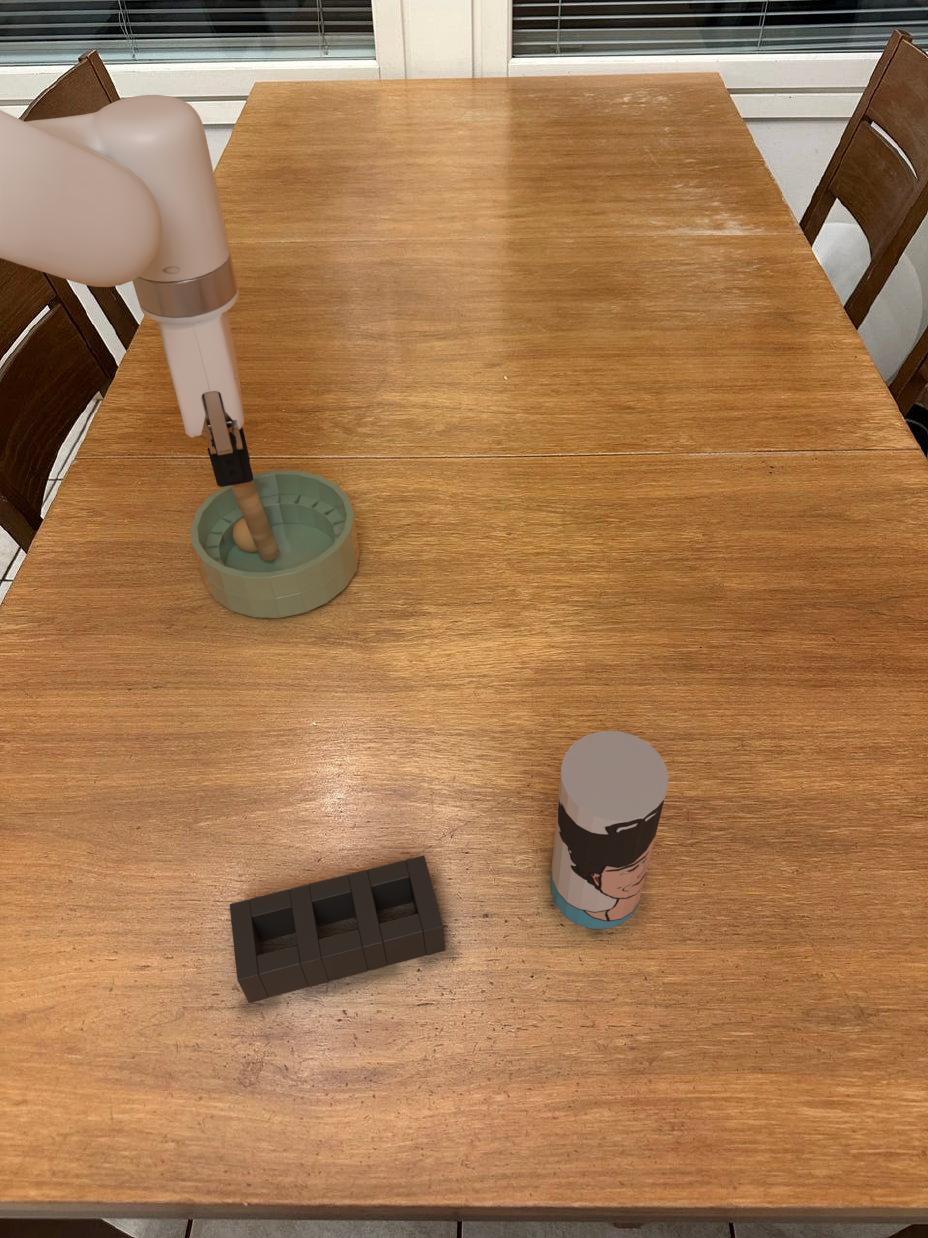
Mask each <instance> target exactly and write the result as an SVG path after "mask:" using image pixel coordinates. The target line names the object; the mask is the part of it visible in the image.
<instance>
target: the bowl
mask: <svg viewBox="0 0 928 1238" xmlns="http://www.w3.org/2000/svg"><path fill="white" fill-rule="evenodd" d="M252 474H253V483H254V485H255V488H256V490H257V493H258V496H259V498H260V501H261V503H262V506H263V509H264V511H265V514H266V517H267V519H268V522H269V524H270V527H271V530H272V532H273V535H274V537H275V540H276V543H277V545H278V548H279V555H278V556H277V557H276V558H275V559H273V560H269V561H265V560H262V559H261V558H260V556H259V553H258V551H257V552H246V551H243V550H241V549H240V548H239V547H238V546H237V545H236V544H235V542H234V540H233V528H234V526H235V524H236V523H237V522H238V521H239V520H240V519H242V518H244V517H243V514H242V512H241V509H240V507H239V504H238V502H237V499H236V497H235V494H234V492H233V490H232V487H231V485H230V486H225V487H220V488H219V489H217V490H215V491H214V492H213V493H211V494H209V496H207V498H206V499H205V500H204V501H203V502H202V503H201V505H200V506H199V507H198V508H197V509H196V511H195V514H194V517H193V520H192V522H191V524H190V527H189V531H190V539H191V540H190V541H191V542H190V543H191V547H192V550H193V552H194V556H195V559H196V562H197V565H198V568H199V572H200V575H201V577H202V581H203V584H204V586H205V587H206V589H207V591H208V592H209V594H210V595H211V597H212V599H213V600H214V601H216V602H217V603H219V604H220V605H222V606H223V607H224V608H226V609H228V610H229V611H231V612H234V613H237V614H241V615H244V616H248V617H251V618H261V619H262V618H263V619H264V618H265V619H267V618H268V619H281V618H285V617H286V618H287V617H292V616H296V615H300V614H306V613H308V612H310V611H312V610H315V609H317V608H319V607H321V606H324V605H326V604H327V603H329V602H330V601H331V600H333V599H334V598H335V597H336V596H338V595H339V594H340V593H342V592H343V591H344V590H345V589H346V588H347V586H348V585H349V583H350V582H351V580H353V578H354V576H355V574H356V573H357V571H358V565H359V561H360V556H361V553H360V546H359V539H358V531H357V524H356V518H355V512H354V508H353V505H352V502H351V499H350V496H348V495H347V493H346V492H345V491H344V490H343V489H342V487H340V485H339V484H337V483H336V482H334V481H332V480H330V479H328V478H327V477H325V476H322V475H320V474H317V473H312V472H308V471H304V470H299V469H272V470H266V471H261V472H256V473H252Z"/></svg>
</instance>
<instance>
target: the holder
mask: <svg viewBox="0 0 928 1238" xmlns="http://www.w3.org/2000/svg"><path fill="white" fill-rule="evenodd" d="M426 859H427V858H426V855H425V854H422V855H419V856H415V857H412V858H408V859H403V860H400V861H396V862H392V863H388V864H385V865H380V866H376V867H372V868H368V869H364V870H360V871H356V872H351V873H348V874H344V875H340V876H336V877H332V878H328V879H327V878H326V879H324V880H319V881H315V882H312V883H311V882H310V883H307V884H304V885H299V886H296V887H292V888H291V887H290V888H287V889H284V890H279V891H276V892H272V893H267V894H264V895H259V896H256V897H252V898H248V899H244V900H240V901H237V902H232V903H230V904H229V915H230V923H231V931H232V932H231V934H232V941H233V943H232V944H233V952H234V962H235V971H236V979H237V983H238V984H239V987H240V989H241V991H242V993H243V995H244V996H245V998H246V1000H247V1003H248V1004H252V1003H255V1002H259V1001H262V1000H267V999H269V998H273V997H277V996H281V995H284V994H288V993H291V992H295V991H299V990H304V989H306V988H311V987H315V986H319V985H322V984H326V983H329V982H332V981H337V980H341V979H344V978H348V977H352V976H355V975H361V974H363V973H366V972H367V973H368V972H370V971H374V970H377V969H382V968H385V967H388V966H391V965H396V964H400V963H403V962H407V961H411V960H414V959H418V958H423V957H425V956H430V955H435V954H437V953H438V954H439V953H441V952H446V942H445V933H444V932H445V931H444V924H443V920H442V916H441V913H440V909H439V905H438V901H437V897H436V893H435V890H434V887H433V883H432V879H431V874H430V871H429V866H428V863H427V860H426ZM411 903H413V907H414V911H415V913H414V914H411V915H408V916H403V917H400V918H396V919H392V920H388V921H383V922H379V917H378V913H377V912H381V911H384V910H388V909H391V908H395V907H399V906H403V905H408V904H411ZM353 918H356V922H357V927H358V928H356V929H353V930H349V931H345V932H342V933H338V934H333V935H330V936H326V937H322V932H321V927H322V926H327V925H331V924H335V923H338V922H342V921H346V920H351V919H353ZM292 934H296V935H295V936H296V944H297V945H293V946H288V947H284V948H281V949H277V950H273V951H270V952H269V951H268V952H265V953H264V949H263V942H266V941H269V940H273V939H276V938H277V939H278V938H281V937H285V936H288V935H292Z"/></svg>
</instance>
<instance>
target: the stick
mask: <svg viewBox="0 0 928 1238" xmlns="http://www.w3.org/2000/svg"><path fill="white" fill-rule="evenodd" d="M228 432H229V433H230V432H232V433H233V431H232V427H231V428H228ZM231 487H232V490H233V492H234V494H235V497H236V499H237V502H238V504H239V507H240V509H241V512H242V514H243V517H244V519H245V522H246V524H247V526H248V529H249V531H250V534H251V536H252V539H253V541H254V544H255V546H256V549H257V551H258V553H259V556H260V558H261V559H262V560H265V561H269V560H273V559H275V558H276V557H277V556H278V555H279V548H278V545H277V543H276V540H275V537H274V535H273V532H272V530H271V527H270V524H269V522H268V519H267V517H266V514H265V511H264V509H263V506H262V503H261V501H260V498H259V496H258V493H257V490H256V488H255V485H254V483H253V480H252V481H251V482H247V483H241V484H236V485H231Z"/></svg>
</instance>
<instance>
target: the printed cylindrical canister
mask: <svg viewBox="0 0 928 1238" xmlns="http://www.w3.org/2000/svg"><path fill="white" fill-rule="evenodd" d="M669 783H670V779H669V774H668V767H667V764H666V763H665V761H664V759H663V758H662V756H661V754H660V752H658V751H657V750H656V749H655V748H654V747H653V746H652V745H651V744H650V743H649V742H647V741H645V740H644V739H642V738H640V737H638V736H636V735H634V734H632V733H627V732H624V731H620V730H600V731H597V732H593V733H589V734H586V735H585V736H583V737H581V738H579V739H578V740H576V741H575V742H573V743H572V745H571V746H570V748H569V749H568V750H567V751H566V752H565V754H564V756H563V759H562V763H561V765H560V774H559V785H558V796H557V805H556V816H555V826H554V837H553V847H552V848H553V850H552V858H551V869H550V881H549V882H550V894H551V896H552V899H553V901H554V903H555V906H556V907H557V908H558V910H559V911H560V912H561V913H562V914H563V916H564V917H566V918H567V919H568V920H570V921H572V923H574V924H576V925H577V926H581V927H583V928H587V929H591V930H608V929H611V928H614V927H617V926H620V925H622V924H624V923H625V922H626V921H627V920H628V919H630V918H631V917H632V916H633V914H634V912H635V911H636V910H637V908H638V907H639V903H640V899H641V896H642V893H643V887H644V884H645V879H646V875H647V871H648V867H649V863H650V860H651V855H652V853H653V848H654V843H655V840H656V835H657V831H658V828H659V823H660V820H661V815H662V811H663V807H664V802H665V799H666V795H667V791H668V787H669Z"/></svg>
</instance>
